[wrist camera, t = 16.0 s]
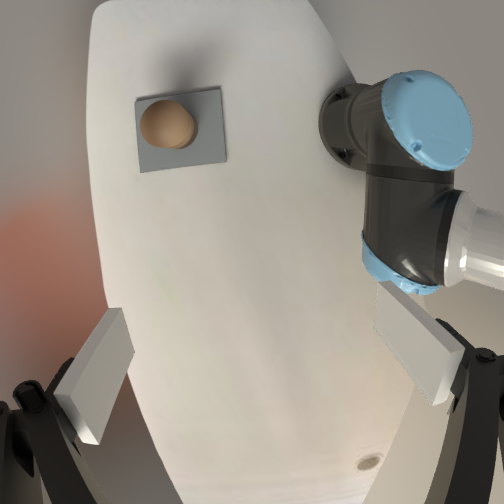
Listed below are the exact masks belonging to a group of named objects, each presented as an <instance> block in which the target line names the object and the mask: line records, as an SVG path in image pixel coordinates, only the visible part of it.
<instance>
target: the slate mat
mask: <svg viewBox="0 0 504 504" xmlns="http://www.w3.org/2000/svg"><path fill="white" fill-rule="evenodd" d="M159 100H172V101H175V102H177V103H179V104H180V105H181V106H182V107H183V108H184V109H185V110H186V111H187V112H188V113H189V114H190V115H191V116H192V117H193V118H194V119H195V121H196V123H197V127H198V133H197V136H196V138H195V140H194V141H193V143H192V144H190V145H189V146H188V147H186V148H183V149H171V148H161V147H155V146H153V145H151V144H149V143H148V142H147V141H146V140H145V139H144V138H143V136H142V134H141V131H140V120H141V117H142V114H143V113H144V111H145V110H146V109H147V107H149V106H150V105H151V104H153V103H154V102H157V101H159ZM135 118H136V132H137V144H138V155H139V164H140V173H144V172H150V171H157V170H164V169H171V168H179V167H186V166H195V165H203V164H213V163H222V162H226V153H225V142H224V130H223V117H222V105H221V92H220V89H218V90H209V91H200V92H192V93H184V94H178V95H171V96H165V97H159V98H153V99H148V100H142V101H137V102H135Z"/></svg>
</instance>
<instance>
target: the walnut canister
mask: <svg viewBox="0 0 504 504" xmlns="http://www.w3.org/2000/svg"><path fill="white" fill-rule="evenodd" d="M140 131H141V134H142V136H143V138H144V139H145V140H146V141H147V142H148V143H149V144H151V145H153V146H155V147H161V148H171V149H183V148H186V147H188V146H189V145H190V144H192V143H193V141H194V140H195V138H196V136H197V133H198V127H197V123H196V121H195V119H194V118H193V117H192V116H191V115H190V114H189V113H188V112H187V111H186V110H185V109H184V108H183V107H182V106H181V105H180V104H179V103H177V102H175V101H172V100H159V101H157V102H154V103H153V104H151V105H150V106H149V107H147V109H146V110H145V111H144V113H143V114H142V117H141V120H140Z"/></svg>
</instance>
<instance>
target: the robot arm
mask: <svg viewBox="0 0 504 504" xmlns="http://www.w3.org/2000/svg"><path fill="white" fill-rule="evenodd" d="M319 132H320V136H321V139H322V142H323V144H324V146H325V148H326V149H327V151H328V152H329V153H330V155H331V156H332V157H333V158H334V159H335V160H336V161H338V162H339V163H340V164H342V165H344V166H346V167H348V168H351V169H355V170H361V171H367V172H366V192H365V212H364V227H363V230H362V241H363V247H362V260H363V263H364V265H365V267H366V270H367V271H368V272H369V273H370V275H371V276H372V277H374V278H375V279H376V280H377V281H379V282H378V285H377V296H376V306H375V315H374V324H373V328H374V329H375V330H376V332H377V333H378V334H379V336H380V337H381V338H382V339H383V341H384V342H385V343H386V345H387V346H388V347H389V349H390V350H391V351H392V353H393V354H394V355H395V357H396V358H397V359H398V361H399V362H400V363H401V365H402V366H403V367H404V369H405V370H406V372H407V373H408V374H409V376H410V377H411V378H412V380H413V381H414V382H415V384H416V385H417V387H418V388H419V389H420V391H421V392H422V394H423V395H424V396H425V398H426V399H427V401H428V402H429V403H430V405H431V406H434V405H437V404H440V403H442V402H444V401H446V399H447V397H448V395H449V392H450V390H451V391H452V393H453V394H454V395H455V397H454V399H453V401H452V403H451V406H450V408H449V410H448V412H447V414H450V416H449V421H448V426H447V430H446V435H445V439H444V443H443V447H442V451H441V455H440V458H439V461H438V465H437V468H436V472H435V475H434V478H433V481H432V484H431V487H430V490H429V493H428V496H427V499H426V501H425V504H488V502H489V497H490V492H491V486H492V481H493V475H494V468H495V461H496V452H497V442H498V440H497V439H498V437H499V443H500V449H501V455H502V462H503V470H504V355H500V356H497V355H496V354H495V353H494V352H493V351H491V350H490V349H487V348H476V349H475V348H474V347H473V346H472V345H471V344H470V343H469V342H468V341H467V340H466V339H465V338H464V337H462V336H461V335H460V334H459V333H458V332H457V331H456V330H454V329H453V327H451V326H450V325H449V324H448V323H447V322H445V321H442V320H441V319H434V318H433V317H432V316H430V315H429V314H428V313H427V312H426V311H425V310H424V309H423V308H422V307H420V306H419V305H418V304H417V303H416V302H415V301H414V300H413V299H411V298H410V297H409V296H408V295H407V294H406V293H409V294H411V293H412V292H414V293H416V294H418V295H427V294H431V293H434V292H435V291H436V290H437V289H438V288H439V287H440V286H441V285H443V286H446V287H451V286H453V285H455V284H456V283H458V282H459V281H461V280H464V279H467V280H471V281H474V282H477V283H481V284H484V285H487V286H490V287H493V288H497V289H500V290H503V291H504V213H503V212H498V211H494V210H490V209H485V208H481V207H479V206H477V205H476V204H475V202H474V201H473V199H472V198H471V196H470V195H469V193H468V192H466V191H461V190H456V189H454V169H455V168H456V167H458V166H459V165H461V164H462V163H463V162H464V161H465V159H466V157H465V156H466V155H467V154H469V153H470V150H471V147H472V142H473V128H472V121H471V118H470V114H469V111H468V109H467V107H466V104H465V102H464V101H463V99H462V97H461V96H459V95H458V94H457V92H456V91H455V89H454V88H453V86H452V85H451V84H450V83H449V82H447V81H446V80H445V79H443V78H442V77H440V76H438V75H437V74H434V73H432V72H428V71H424V70H415V71H409V72H405V73H399V74H394V75H392V76H391V77H390V78H388V79H385V80H383V81H381V82H378V83H376V84H374V85H372V86H371V85H367V84H359V83H358V84H350V85H346V86H343V87H341V88H339V89H338V90H336V91H334V92H333V93H332V94H331V95H330V96H329V97H328V98H327V99H326V100H325V102H324V104H323V106H322V108H321V111H320V115H319ZM134 353H135V351H134V348H133V345H132V342H131V338H130V335H129V332H128V328H127V325H126V321H125V318H124V314H123V311H122V308H108V310H107V311H106V313H105V314H104V316H103V317H102V318H101V320H100V321H99V323H98V324H97V326H96V327H95V329H94V330H93V332H92V333H91V335H90V336H89V338H88V339H87V341H86V342H85V344H84V345H83V347H82V348H81V350H80V351H79V353H78V354H77V356H76V357H75V358H70V359H68V360H67V361H66V362H65V363H63V365H62V366H61V368H60V369H59V371H58V373H57V374H56V375H55V378H54V379H53V380H52V382H51V383H50V385H49V386H48V388H47V390H46V391H45V392H44V390H43V389H42V387H41V385H40V383H39V382H37V381H35V380H28V381H24V382H22V383H21V384H19V385H18V386H17V387H16V388H15V390H14V391H13V398H14V399H15V401H16V402H17V404H18V406H19V407H20V409H19V410H11V409H10V408H9V406H8V405H7V403H6V402H3V401H0V504H43V498H42V489H41V479H40V474H41V477H42V480H43V483H44V485H45V488H46V490H47V493H48V495H49V498H50V500H51V502H52V504H110V502H109V500H108V499H107V498H106V496H105V494H104V493H103V491H102V489H101V487H100V486H99V484H98V482H97V481H96V479H95V477H94V475H93V474H92V472H91V470H90V469H89V466H88V465H87V463H86V461H85V459H84V457H83V455H82V453H81V451H80V449H79V447H78V445H77V444H76V442H75V441H74V440H75V437H76V435H77V434H78V435H79V437H80V439H81V440H82V441H83V442H84V443H90V444H96V445H99V444H100V441H101V438H102V435H103V433H104V430H105V427H106V424H107V422H108V419H109V416H110V413H111V410H112V408H113V405H114V403H115V400H116V397H117V395H118V392H119V390H120V387H121V385H122V382H123V380H124V377H125V375H126V372H127V370H128V367H129V365H130V362H131V360H132V358H133V355H134Z"/></svg>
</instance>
